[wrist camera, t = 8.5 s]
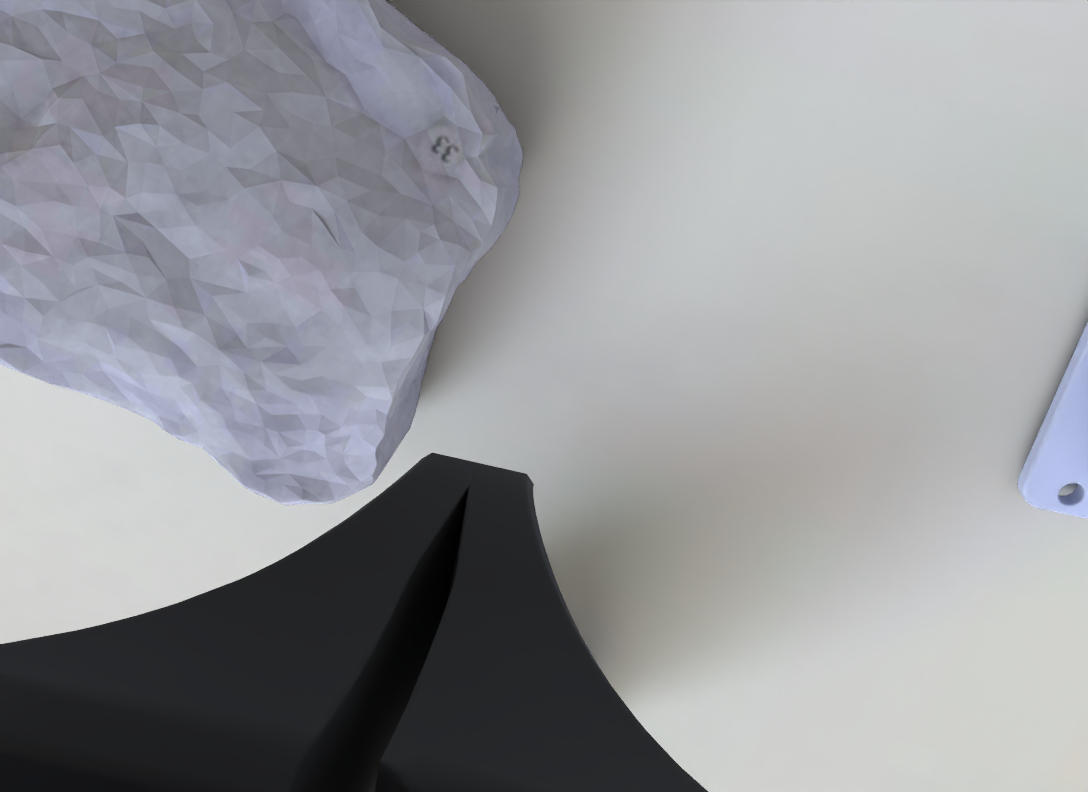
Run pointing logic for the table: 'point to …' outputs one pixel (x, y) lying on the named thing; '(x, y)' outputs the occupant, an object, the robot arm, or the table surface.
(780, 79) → the table surface
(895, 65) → the table surface
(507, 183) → the stone block
